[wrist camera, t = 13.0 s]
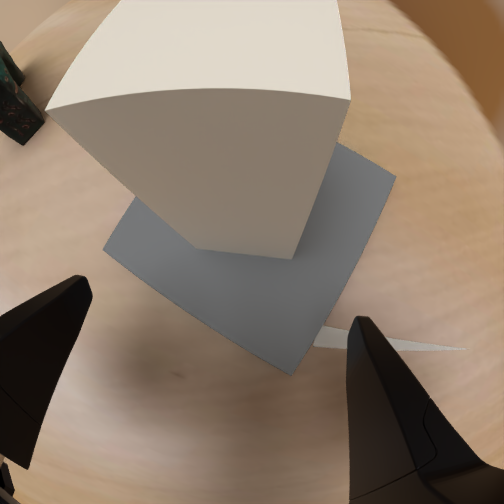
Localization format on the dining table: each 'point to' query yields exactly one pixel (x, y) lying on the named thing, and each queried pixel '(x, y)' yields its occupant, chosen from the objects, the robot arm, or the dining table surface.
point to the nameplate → (338, 337)
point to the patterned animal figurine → (16, 103)
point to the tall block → (214, 113)
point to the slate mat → (264, 265)
